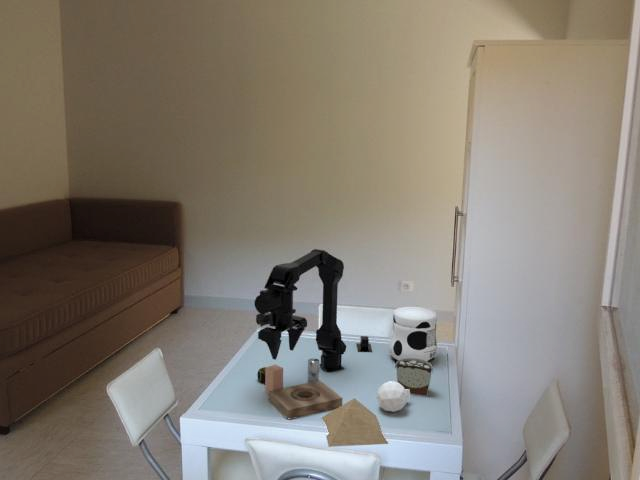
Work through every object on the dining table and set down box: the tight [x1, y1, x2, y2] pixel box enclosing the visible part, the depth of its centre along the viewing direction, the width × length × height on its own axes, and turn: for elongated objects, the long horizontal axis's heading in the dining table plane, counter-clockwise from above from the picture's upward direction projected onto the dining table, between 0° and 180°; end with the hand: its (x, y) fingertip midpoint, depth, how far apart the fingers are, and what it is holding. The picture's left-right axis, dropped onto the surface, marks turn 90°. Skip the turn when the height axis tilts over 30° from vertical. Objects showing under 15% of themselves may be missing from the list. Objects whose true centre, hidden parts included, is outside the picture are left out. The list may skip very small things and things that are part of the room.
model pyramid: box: [321, 397, 389, 448], centre depth 162 cm, size 17×17×10 cm
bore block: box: [268, 380, 343, 419], centre depth 177 cm, size 18×14×3 cm
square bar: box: [264, 364, 284, 394], centre depth 185 cm, size 4×4×8 cm
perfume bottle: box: [376, 380, 411, 413], centre depth 175 cm, size 9×9×12 cm
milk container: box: [389, 306, 438, 364], centre depth 213 cm, size 17×17×18 cm
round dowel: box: [307, 358, 320, 383], centre depth 192 cm, size 4×4×8 cm
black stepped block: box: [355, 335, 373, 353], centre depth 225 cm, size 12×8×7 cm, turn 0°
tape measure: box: [256, 366, 266, 383], centre depth 194 cm, size 7×7×4 cm
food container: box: [394, 358, 434, 398], centre depth 188 cm, size 12×6×10 cm, turn 71°
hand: (283, 354), depth 182 cm, fingers open, 9 cm apart
